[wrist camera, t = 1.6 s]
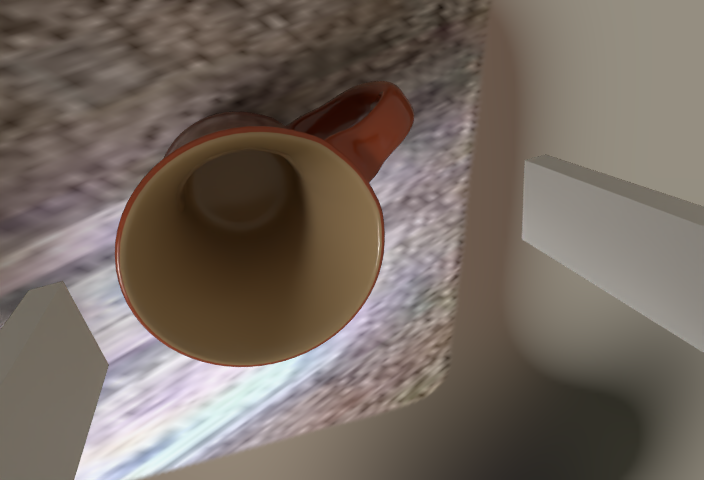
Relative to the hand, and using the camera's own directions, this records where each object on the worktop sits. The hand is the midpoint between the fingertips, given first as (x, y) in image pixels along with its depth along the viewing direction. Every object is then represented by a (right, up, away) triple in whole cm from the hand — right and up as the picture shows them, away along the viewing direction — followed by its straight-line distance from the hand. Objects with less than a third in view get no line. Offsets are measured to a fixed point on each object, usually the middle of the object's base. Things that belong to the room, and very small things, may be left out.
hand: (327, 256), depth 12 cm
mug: (-4, +5, +11) cm, 13 cm away
